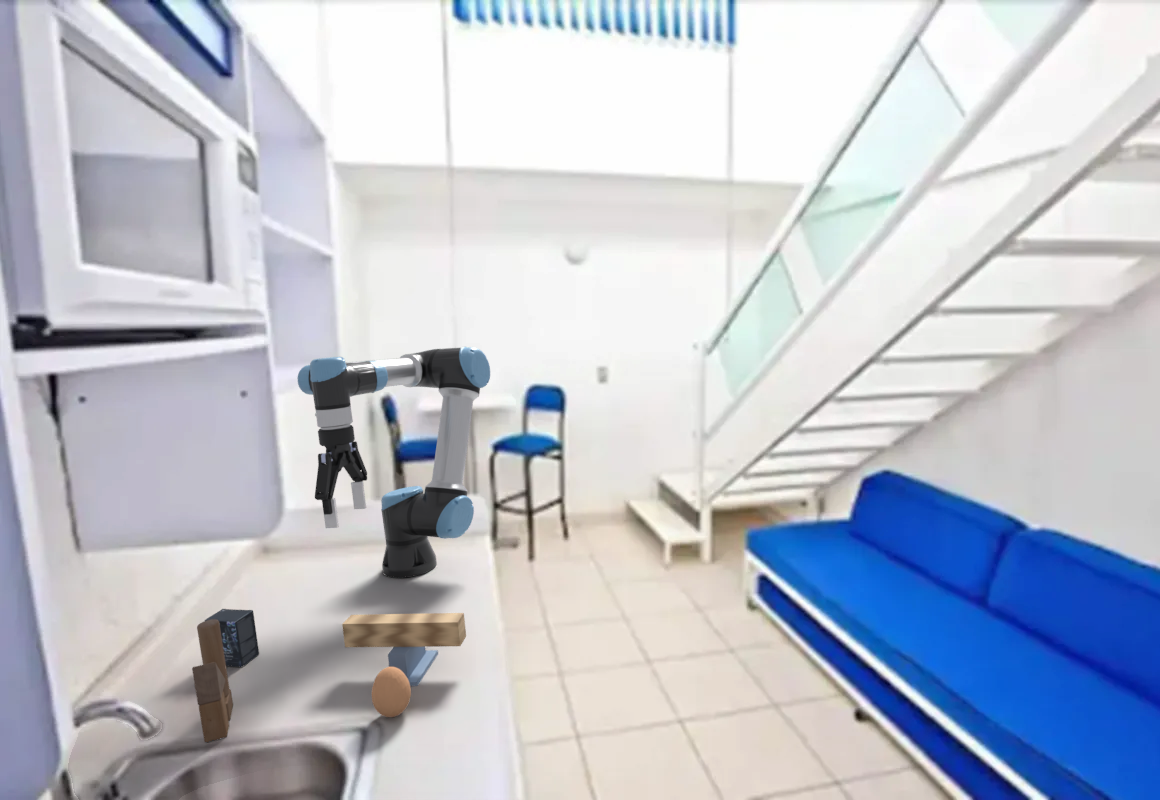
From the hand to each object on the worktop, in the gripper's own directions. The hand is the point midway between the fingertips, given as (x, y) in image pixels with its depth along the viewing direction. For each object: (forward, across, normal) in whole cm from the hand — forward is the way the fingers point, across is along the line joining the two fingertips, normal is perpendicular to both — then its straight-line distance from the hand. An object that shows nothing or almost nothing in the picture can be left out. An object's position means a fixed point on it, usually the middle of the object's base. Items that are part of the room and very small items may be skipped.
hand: (346, 517), depth 150 cm
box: (+27, +14, -22) cm, 37 cm away
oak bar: (+21, +18, +19) cm, 33 cm away
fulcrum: (+27, +18, +19) cm, 37 cm away
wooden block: (+27, +36, -10) cm, 46 cm away
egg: (+27, +33, +22) cm, 48 cm away
